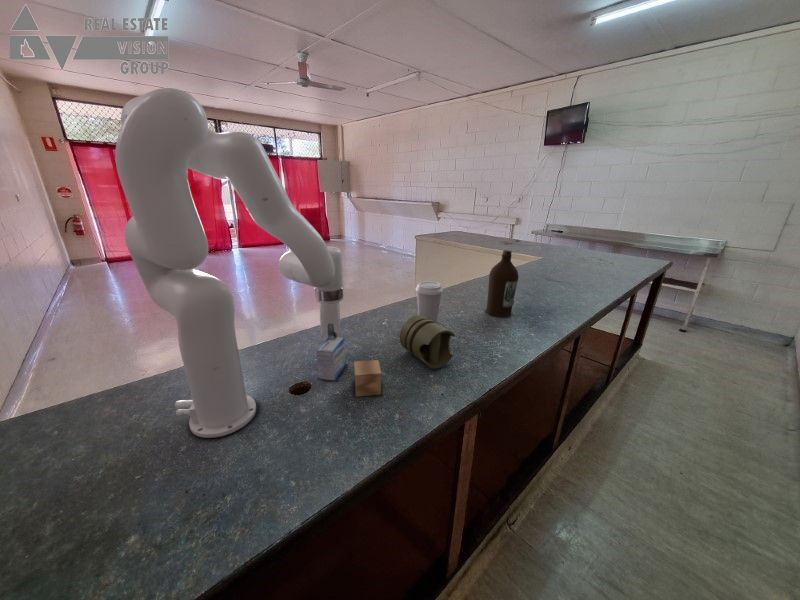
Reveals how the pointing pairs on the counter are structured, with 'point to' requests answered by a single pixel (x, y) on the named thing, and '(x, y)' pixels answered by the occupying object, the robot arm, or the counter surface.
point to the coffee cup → (429, 299)
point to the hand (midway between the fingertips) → (333, 352)
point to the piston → (427, 341)
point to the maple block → (367, 378)
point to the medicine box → (331, 358)
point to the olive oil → (502, 287)
